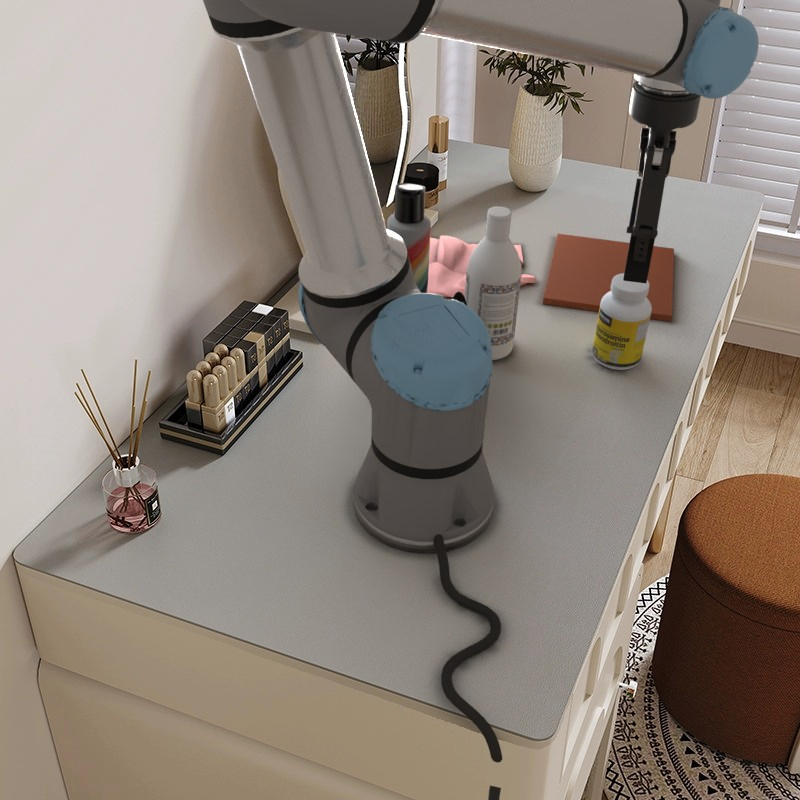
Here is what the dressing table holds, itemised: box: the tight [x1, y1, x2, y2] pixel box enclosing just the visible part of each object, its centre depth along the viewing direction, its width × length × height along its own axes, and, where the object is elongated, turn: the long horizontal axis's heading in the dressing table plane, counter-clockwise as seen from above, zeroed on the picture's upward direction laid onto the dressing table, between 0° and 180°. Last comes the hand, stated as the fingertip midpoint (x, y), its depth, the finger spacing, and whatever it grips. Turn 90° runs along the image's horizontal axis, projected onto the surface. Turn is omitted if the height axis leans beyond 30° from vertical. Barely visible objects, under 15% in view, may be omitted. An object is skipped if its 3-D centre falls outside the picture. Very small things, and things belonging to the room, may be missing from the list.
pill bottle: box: [591, 273, 652, 371], centre depth 132 cm, size 6×6×12 cm
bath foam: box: [464, 205, 523, 361], centre depth 131 cm, size 7×7×20 cm
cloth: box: [427, 235, 536, 298], centre depth 153 cm, size 20×22×2 cm
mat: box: [542, 233, 675, 323], centre depth 152 cm, size 20×18×1 cm
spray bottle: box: [386, 182, 432, 293], centre depth 136 cm, size 6×6×20 cm
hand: (637, 253), depth 126 cm, fingers open, 13 cm apart
